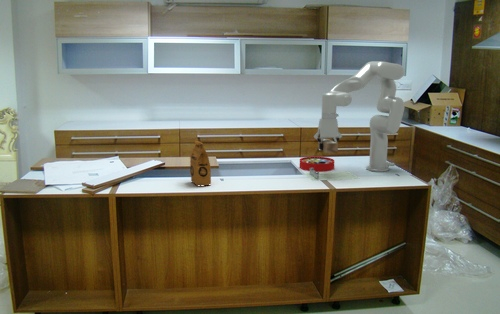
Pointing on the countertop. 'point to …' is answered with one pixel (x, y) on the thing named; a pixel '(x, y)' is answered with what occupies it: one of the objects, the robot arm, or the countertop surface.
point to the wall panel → (332, 175)
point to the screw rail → (314, 173)
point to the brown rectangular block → (329, 146)
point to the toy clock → (317, 163)
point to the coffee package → (200, 165)
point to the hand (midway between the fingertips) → (327, 149)
